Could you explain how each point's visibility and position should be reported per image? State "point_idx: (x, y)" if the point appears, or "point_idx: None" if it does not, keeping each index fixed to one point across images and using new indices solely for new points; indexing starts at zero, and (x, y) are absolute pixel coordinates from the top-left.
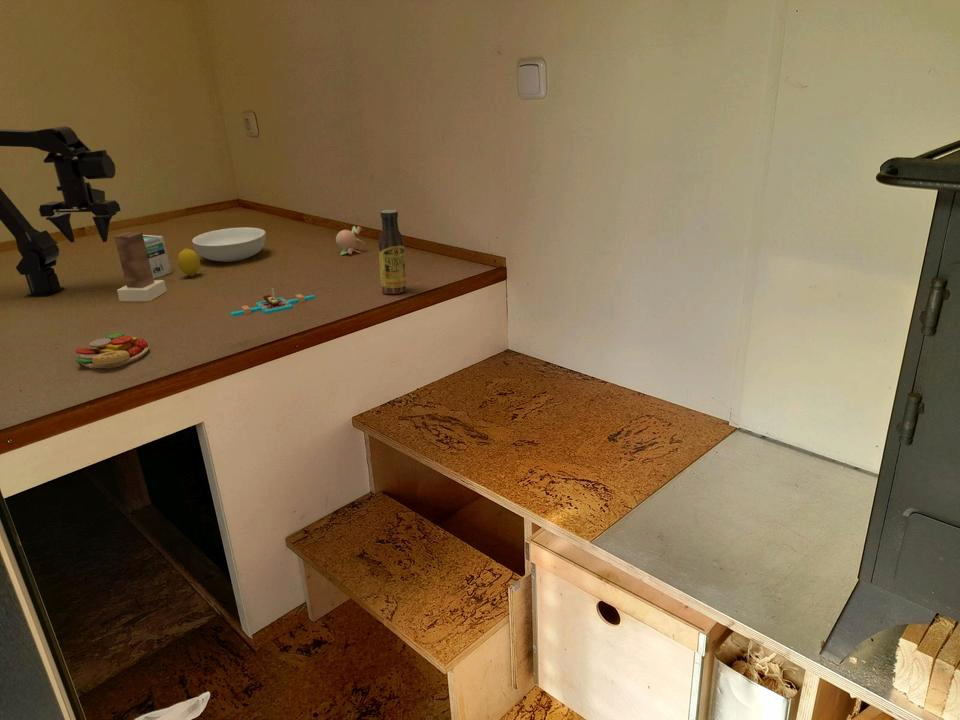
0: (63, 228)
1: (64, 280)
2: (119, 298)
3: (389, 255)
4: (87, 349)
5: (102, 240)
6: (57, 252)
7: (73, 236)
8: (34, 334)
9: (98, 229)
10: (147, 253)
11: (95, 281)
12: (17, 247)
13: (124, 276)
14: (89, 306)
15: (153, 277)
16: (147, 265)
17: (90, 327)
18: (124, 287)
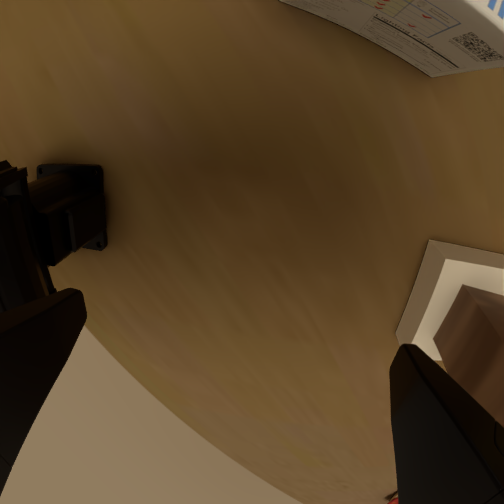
0: (23, 430)
1: (48, 70)
2: (398, 339)
3: None
4: (397, 502)
5: (390, 385)
6: (13, 219)
7: (54, 309)
8: (276, 460)
9: (408, 500)
10: (495, 66)
11: (165, 69)
12: None
13: (445, 366)
14: (314, 359)
15: (436, 76)
16: None
17: (370, 448)
18: (423, 337)
